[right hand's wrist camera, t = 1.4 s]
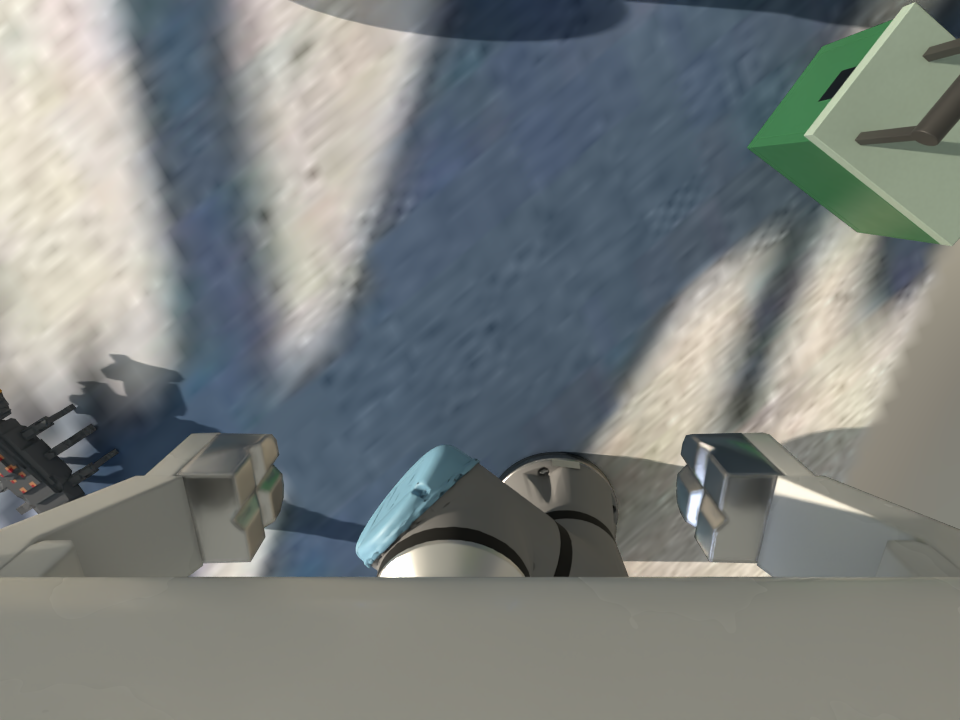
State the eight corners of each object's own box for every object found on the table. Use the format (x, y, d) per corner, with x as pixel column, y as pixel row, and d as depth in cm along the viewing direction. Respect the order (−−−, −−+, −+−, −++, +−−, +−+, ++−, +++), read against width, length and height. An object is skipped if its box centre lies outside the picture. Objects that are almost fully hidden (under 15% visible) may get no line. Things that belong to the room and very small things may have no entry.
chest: (746, 147, 48) (809, 140, 39) (822, 46, 45) (909, 12, 36) (857, 232, 51) (940, 244, 42) (935, 141, 48) (1042, 132, 39)
